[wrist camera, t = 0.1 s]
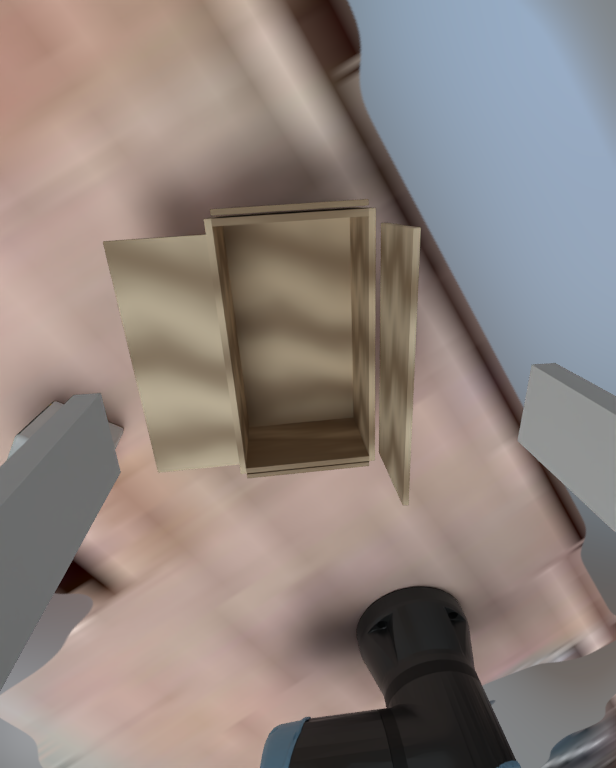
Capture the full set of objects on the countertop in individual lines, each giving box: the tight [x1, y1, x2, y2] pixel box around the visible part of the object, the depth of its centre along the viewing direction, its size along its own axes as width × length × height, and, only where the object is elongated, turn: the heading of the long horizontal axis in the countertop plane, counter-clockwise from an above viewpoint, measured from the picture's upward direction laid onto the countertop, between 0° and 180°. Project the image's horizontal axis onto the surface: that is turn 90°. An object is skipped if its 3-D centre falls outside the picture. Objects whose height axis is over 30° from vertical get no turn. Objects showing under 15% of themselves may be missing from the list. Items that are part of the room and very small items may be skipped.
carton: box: [103, 199, 376, 478], centre depth 37 cm, size 22×19×8 cm
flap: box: [379, 223, 421, 506], centre depth 30 cm, size 19×1×7 cm, turn 3°
